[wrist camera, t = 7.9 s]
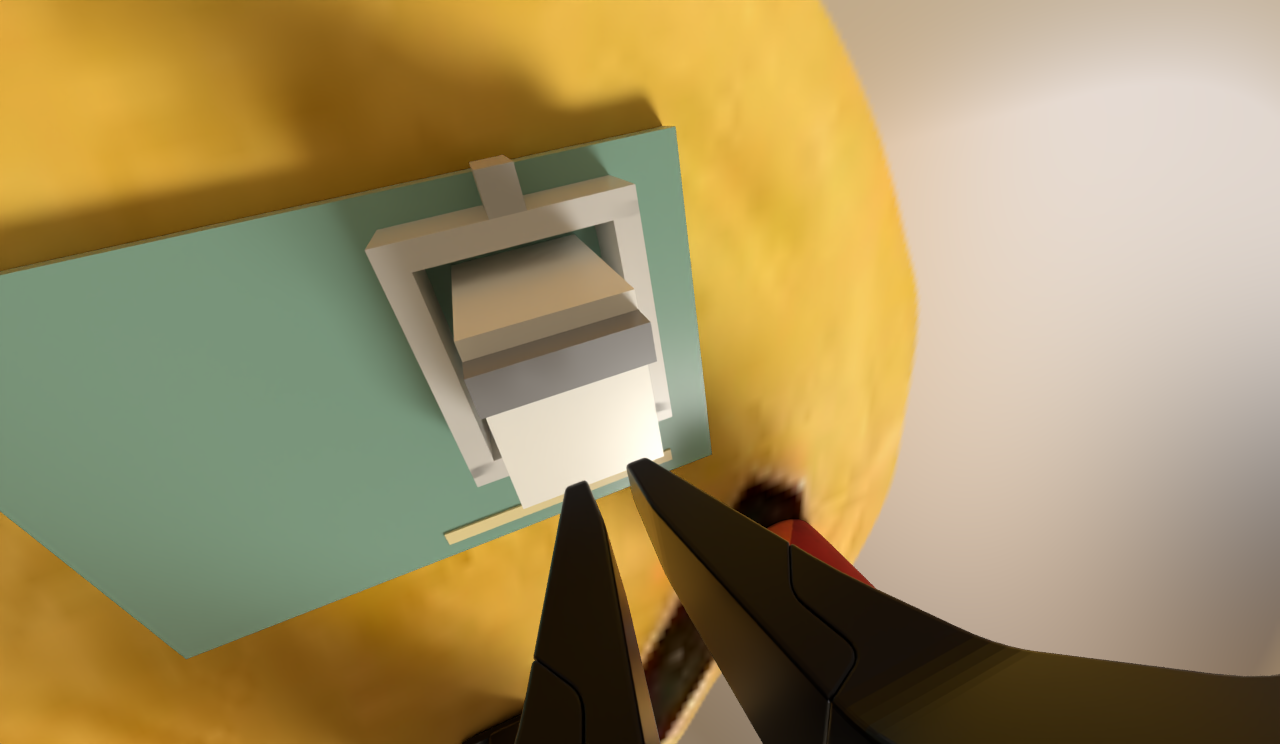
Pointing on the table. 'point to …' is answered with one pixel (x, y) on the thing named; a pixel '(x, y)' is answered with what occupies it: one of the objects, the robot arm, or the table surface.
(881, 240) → the table surface
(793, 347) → the table surface
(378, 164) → the table surface
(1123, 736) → the robot arm
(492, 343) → the plug
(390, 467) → the board
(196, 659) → the table surface
